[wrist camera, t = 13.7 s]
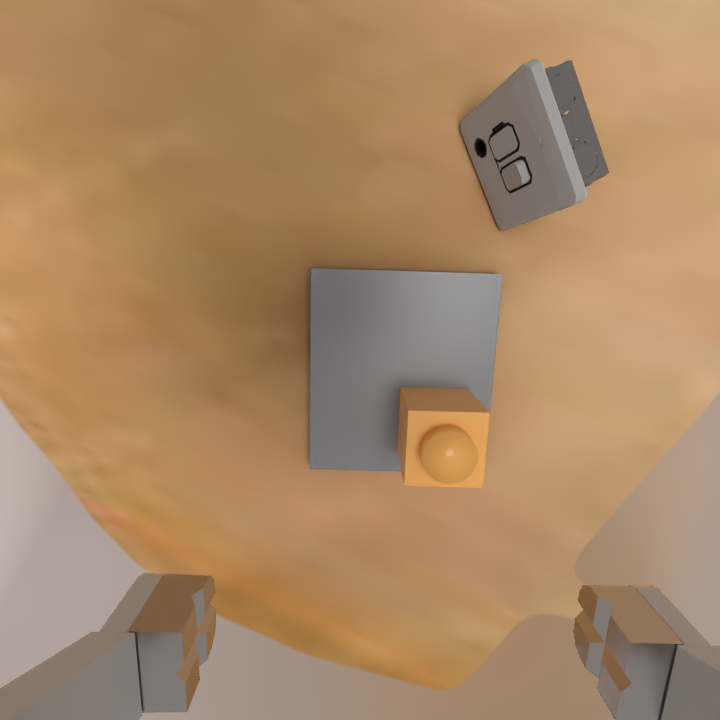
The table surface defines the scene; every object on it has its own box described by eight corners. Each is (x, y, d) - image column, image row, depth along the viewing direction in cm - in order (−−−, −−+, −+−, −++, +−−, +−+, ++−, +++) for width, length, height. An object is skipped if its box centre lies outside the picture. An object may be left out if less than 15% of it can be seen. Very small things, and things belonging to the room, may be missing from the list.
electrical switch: (455, 125, 36) (501, 70, 27) (513, 97, 36) (578, 33, 27) (498, 233, 38) (554, 216, 28) (552, 206, 38) (626, 182, 29)
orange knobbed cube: (400, 386, 39) (410, 417, 31) (468, 388, 39) (495, 419, 31) (397, 450, 40) (406, 495, 32) (463, 452, 40) (488, 497, 32)
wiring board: (312, 268, 38) (304, 268, 33) (497, 273, 38) (519, 274, 33) (311, 461, 42) (304, 490, 36) (479, 466, 42) (497, 495, 37)
